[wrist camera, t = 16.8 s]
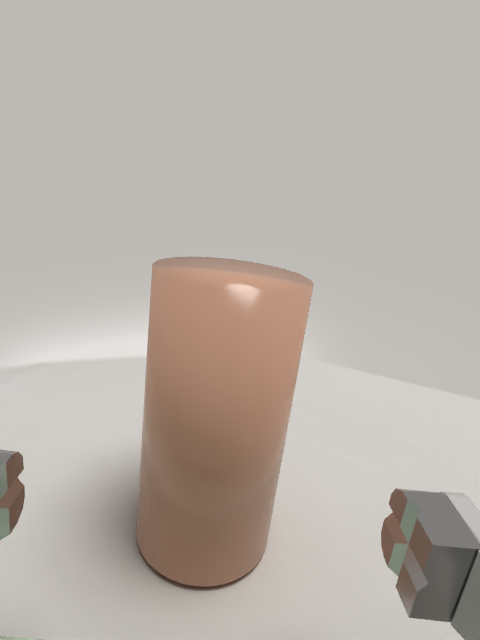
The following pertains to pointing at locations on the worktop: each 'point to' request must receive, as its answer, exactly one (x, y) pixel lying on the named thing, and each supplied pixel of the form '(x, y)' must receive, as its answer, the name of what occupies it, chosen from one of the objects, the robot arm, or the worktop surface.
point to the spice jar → (216, 412)
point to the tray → (15, 638)
